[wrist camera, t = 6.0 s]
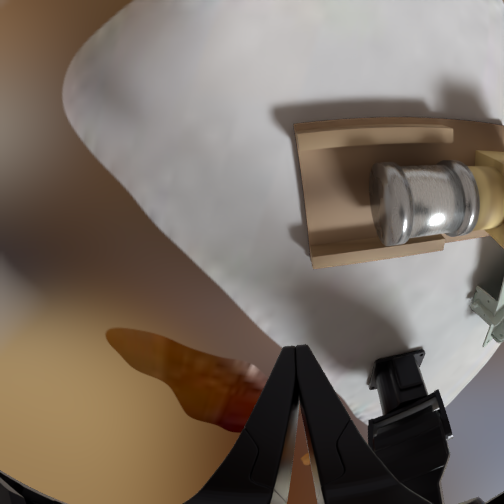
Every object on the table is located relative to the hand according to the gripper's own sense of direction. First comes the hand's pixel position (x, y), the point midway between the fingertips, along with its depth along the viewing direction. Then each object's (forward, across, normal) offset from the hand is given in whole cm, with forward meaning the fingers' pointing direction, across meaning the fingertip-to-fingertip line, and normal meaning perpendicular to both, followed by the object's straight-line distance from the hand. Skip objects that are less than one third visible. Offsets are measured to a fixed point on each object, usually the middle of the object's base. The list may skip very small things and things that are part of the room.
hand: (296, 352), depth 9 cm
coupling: (+11, -9, -1) cm, 14 cm away
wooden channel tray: (+12, -10, -1) cm, 16 cm away
